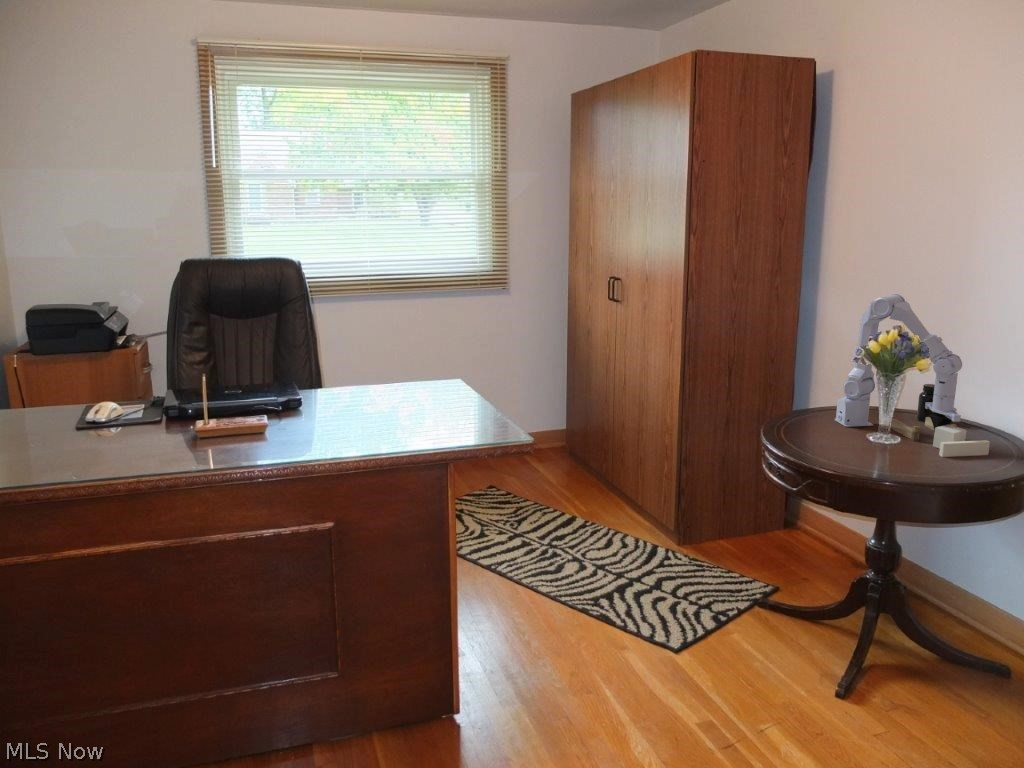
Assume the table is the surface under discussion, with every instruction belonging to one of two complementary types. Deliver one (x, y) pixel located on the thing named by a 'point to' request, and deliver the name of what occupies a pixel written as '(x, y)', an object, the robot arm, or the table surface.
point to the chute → (909, 431)
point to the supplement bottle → (923, 398)
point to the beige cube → (948, 435)
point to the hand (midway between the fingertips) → (939, 437)
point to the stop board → (964, 448)
